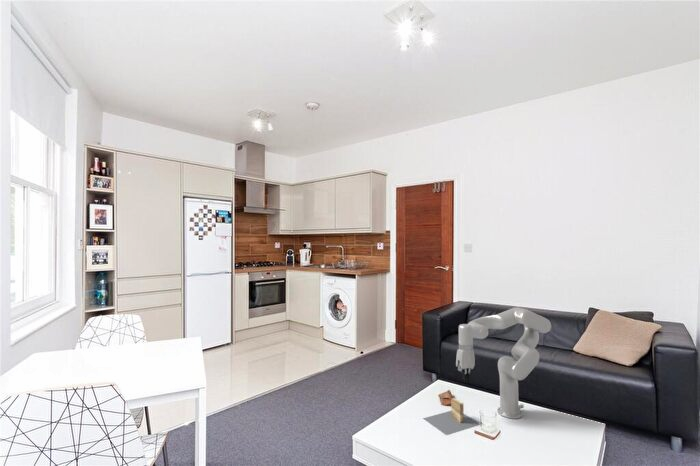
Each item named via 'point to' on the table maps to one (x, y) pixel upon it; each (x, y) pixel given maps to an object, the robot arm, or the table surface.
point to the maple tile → (457, 410)
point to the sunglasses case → (446, 398)
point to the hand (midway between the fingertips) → (465, 380)
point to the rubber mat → (450, 423)
